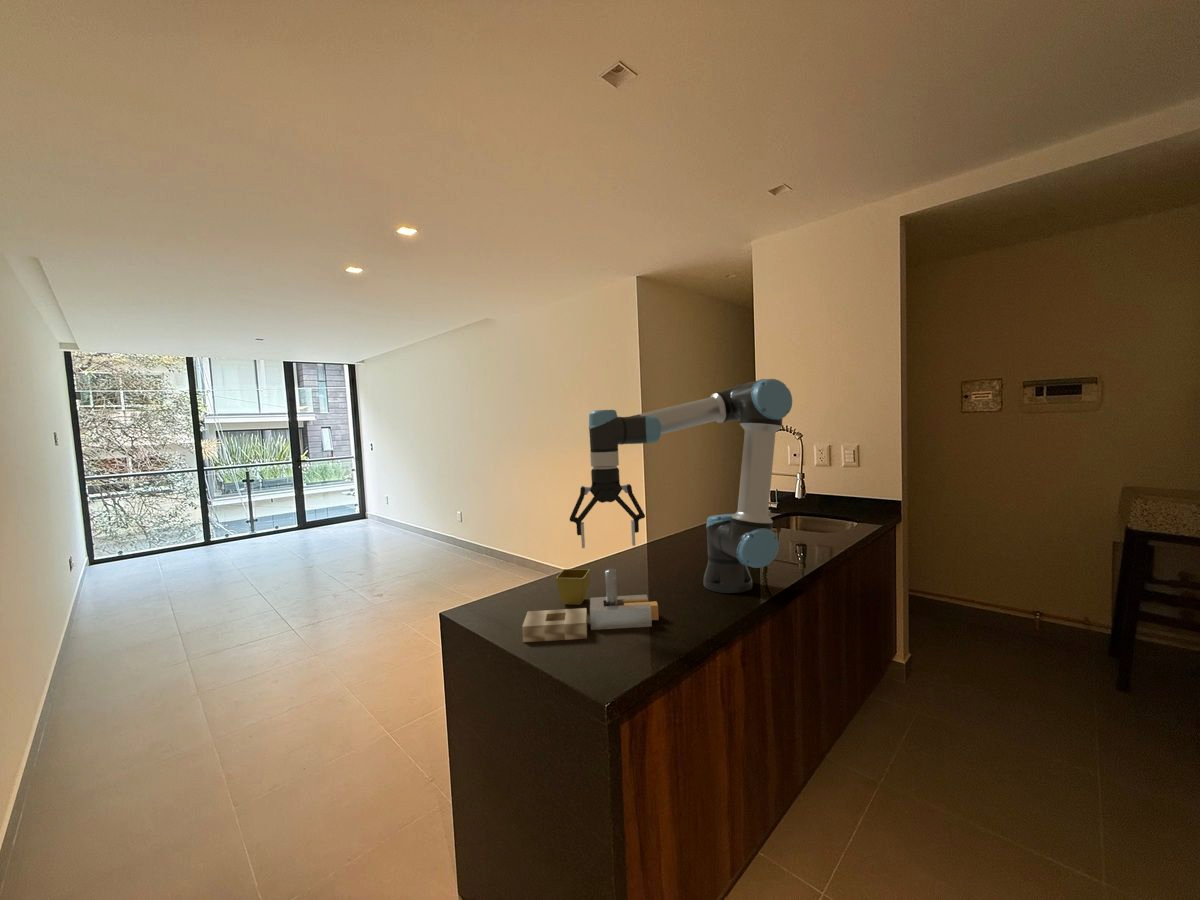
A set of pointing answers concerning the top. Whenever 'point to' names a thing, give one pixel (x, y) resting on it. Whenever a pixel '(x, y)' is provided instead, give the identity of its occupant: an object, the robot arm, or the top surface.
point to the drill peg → (611, 587)
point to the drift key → (653, 608)
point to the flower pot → (573, 585)
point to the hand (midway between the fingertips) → (608, 545)
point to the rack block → (555, 625)
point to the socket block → (620, 613)
